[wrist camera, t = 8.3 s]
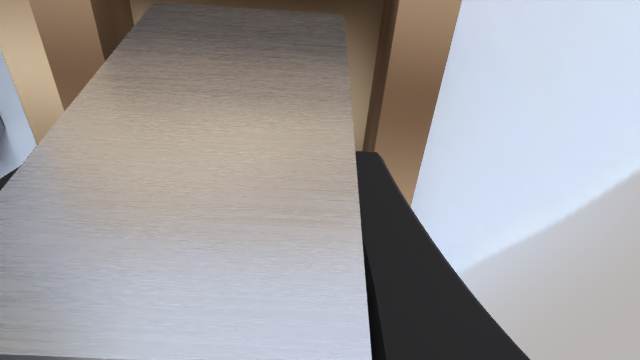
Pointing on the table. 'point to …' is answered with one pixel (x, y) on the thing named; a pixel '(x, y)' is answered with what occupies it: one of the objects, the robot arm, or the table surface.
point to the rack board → (355, 3)
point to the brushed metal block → (194, 200)
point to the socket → (1, 125)
